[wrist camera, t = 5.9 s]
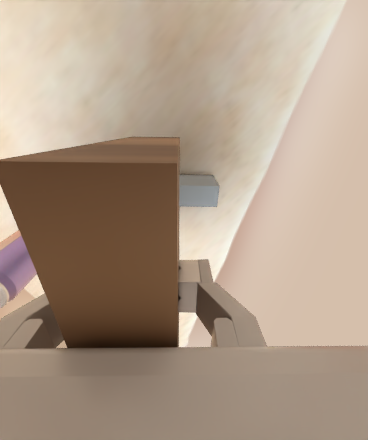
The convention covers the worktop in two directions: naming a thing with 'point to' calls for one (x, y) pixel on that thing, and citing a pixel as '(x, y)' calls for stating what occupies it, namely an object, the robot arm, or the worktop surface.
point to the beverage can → (14, 267)
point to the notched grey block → (198, 190)
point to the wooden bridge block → (103, 237)
